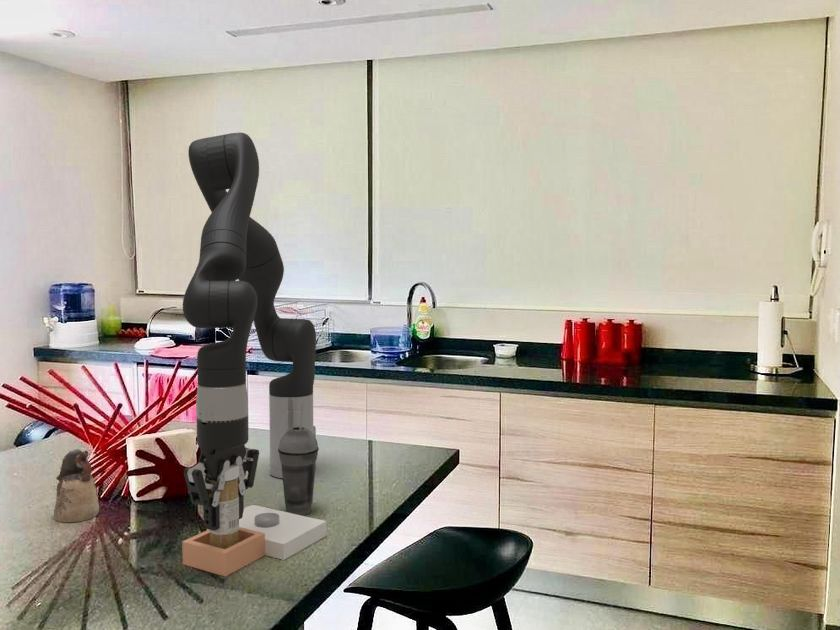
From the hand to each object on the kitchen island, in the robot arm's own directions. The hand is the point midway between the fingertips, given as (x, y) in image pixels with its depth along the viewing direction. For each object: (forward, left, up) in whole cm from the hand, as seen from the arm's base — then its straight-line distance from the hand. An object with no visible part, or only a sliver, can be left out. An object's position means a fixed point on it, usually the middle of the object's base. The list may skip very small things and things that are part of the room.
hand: (224, 523), depth 108 cm
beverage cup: (-22, -3, -6) cm, 23 cm away
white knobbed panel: (-5, 0, -6) cm, 8 cm away
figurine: (-1, -36, -6) cm, 36 cm away
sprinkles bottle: (0, 0, -4) cm, 4 cm away
